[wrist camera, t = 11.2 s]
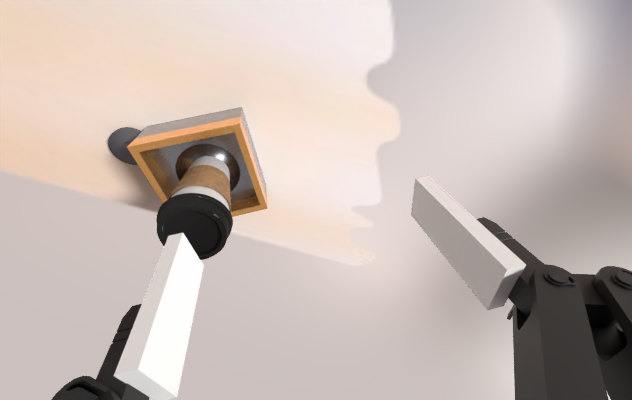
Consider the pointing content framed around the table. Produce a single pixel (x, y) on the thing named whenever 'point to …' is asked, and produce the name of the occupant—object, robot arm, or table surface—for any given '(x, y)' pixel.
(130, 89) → the table surface
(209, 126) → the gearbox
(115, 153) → the disc
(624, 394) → the robot arm
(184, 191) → the coffee cup
